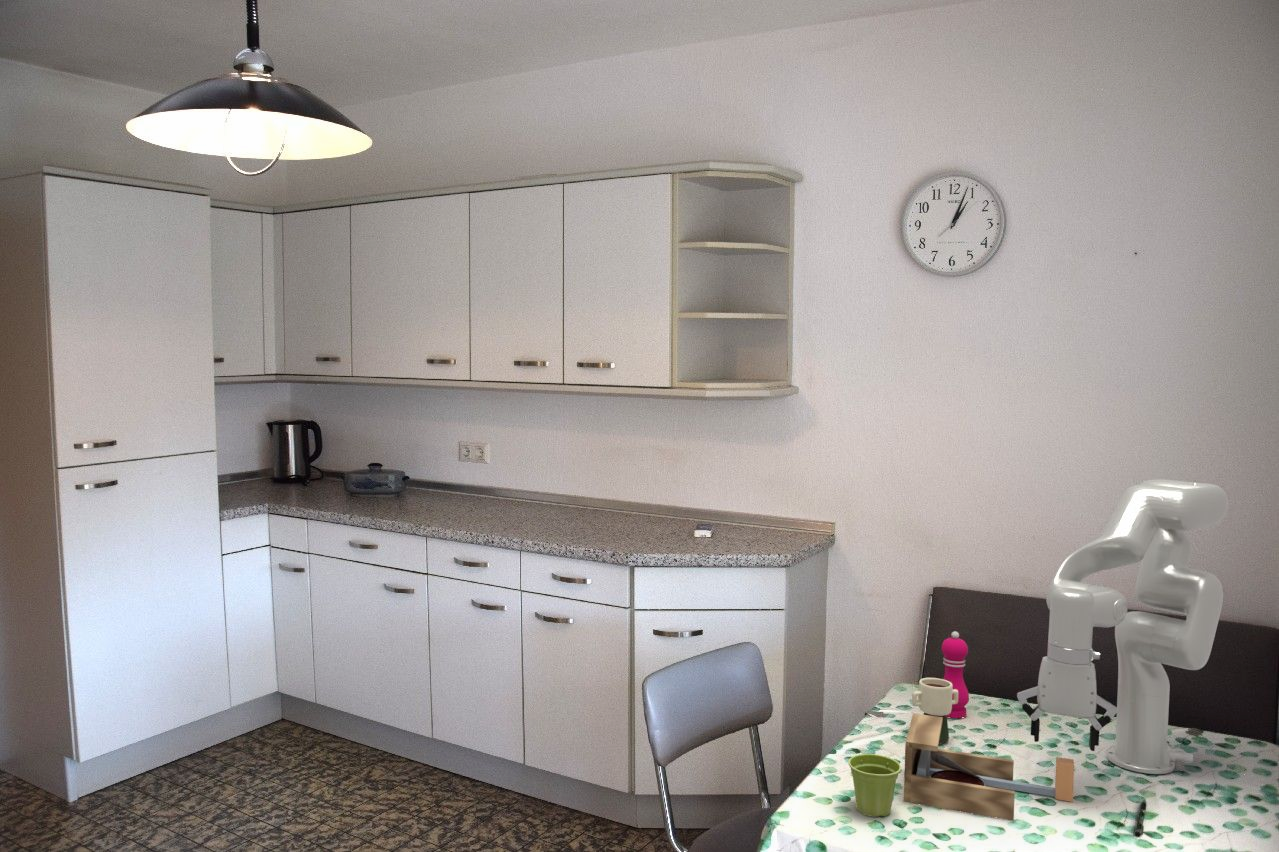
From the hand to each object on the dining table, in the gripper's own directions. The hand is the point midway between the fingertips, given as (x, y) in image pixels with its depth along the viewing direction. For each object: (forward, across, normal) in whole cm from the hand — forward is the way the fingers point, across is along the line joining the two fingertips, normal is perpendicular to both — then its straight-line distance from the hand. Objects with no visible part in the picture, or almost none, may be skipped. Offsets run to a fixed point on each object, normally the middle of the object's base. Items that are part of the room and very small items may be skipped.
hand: (1063, 744), depth 178 cm
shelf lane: (+11, +17, +5) cm, 21 cm away
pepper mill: (+10, +21, -40) cm, 47 cm away
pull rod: (+11, +12, +4) cm, 16 cm away
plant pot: (+12, +32, +19) cm, 39 cm away
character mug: (+11, +24, -21) cm, 34 cm away
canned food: (+12, +18, +6) cm, 22 cm away
